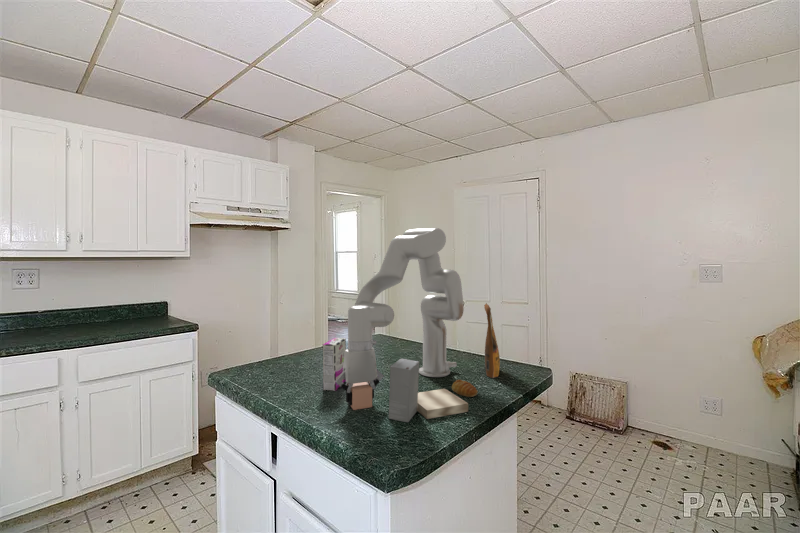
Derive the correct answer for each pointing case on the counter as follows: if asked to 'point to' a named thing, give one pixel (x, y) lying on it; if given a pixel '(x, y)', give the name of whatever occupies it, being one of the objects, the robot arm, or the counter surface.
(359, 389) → the terracotta cube
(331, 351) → the candy bar box
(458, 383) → the pastry
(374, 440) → the counter surface
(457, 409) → the birch board
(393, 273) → the robot arm
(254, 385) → the counter surface
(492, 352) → the pancake mix bag
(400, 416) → the skincare box
